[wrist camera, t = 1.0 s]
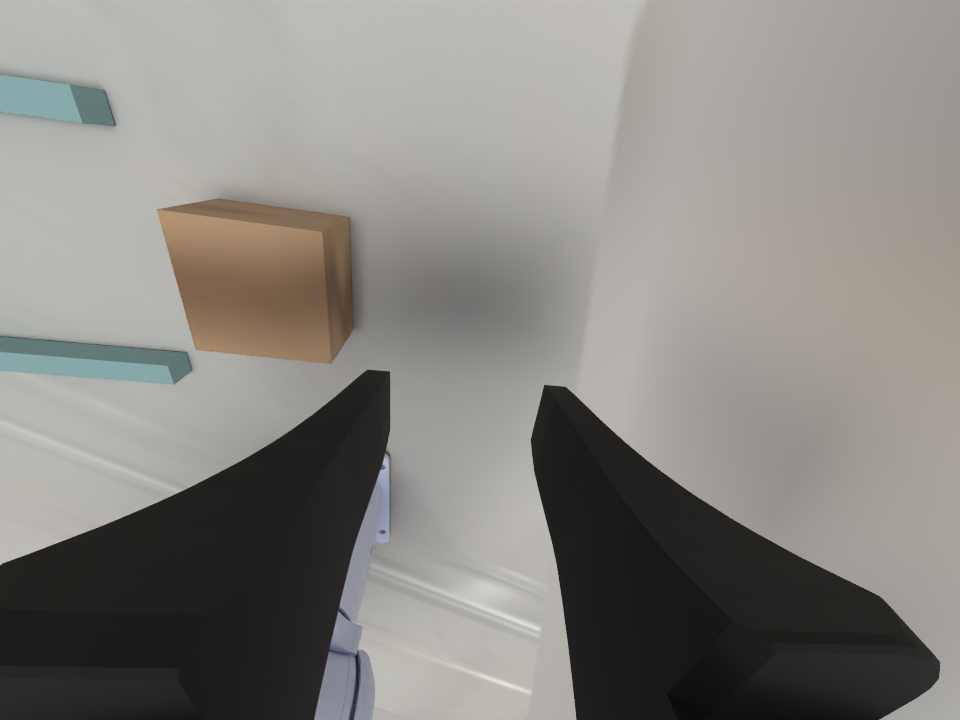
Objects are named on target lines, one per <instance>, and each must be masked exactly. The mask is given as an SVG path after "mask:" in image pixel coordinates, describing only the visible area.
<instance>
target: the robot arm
mask: <svg viewBox="0 0 960 720" xmlns="http://www.w3.org/2000/svg"><path fill="white" fill-rule="evenodd" d="M389 432H390V372H388V371H376V370H367V371H365V372H364V373H363V374H362V375H360V376H359V377H358V378H357V379H356V380H354V381H353V382H352V383H351V384H350V385H349V386H347V387H346V388H345V389H344V390H343V391H342V392H340V393H339V394H338V395H337V396H336V397H334V398H333V399H332V400H331V401H329V402H328V403H327V404H326V405H324V406H323V407H322V408H321V409H319V410H318V411H317V412H316V413H314V414H313V415H312V416H310V417H309V418H307V419H306V420H305V421H303V422H302V423H301V424H299V425H298V426H296V427H295V428H294V429H292V430H291V431H289V432H288V433H286V434H285V435H283V436H282V437H280V438H279V439H277V440H276V441H274V442H273V443H271V444H269V445H268V446H266V447H264V448H263V449H261V450H259V451H258V452H256V453H254V454H253V455H251V456H249V457H247V458H246V459H244V460H242V461H240V462H239V463H237V464H235V465H233V466H231V467H229V468H227V469H225V470H223V471H221V472H219V473H217V474H215V475H213V476H212V477H210V478H208V479H206V480H204V481H202V482H200V483H198V484H196V485H194V486H192V487H190V488H188V489H186V490H184V491H182V492H179V493H177V494H175V495H173V496H171V497H169V498H166V499H164V500H162V501H160V502H158V503H155V504H153V505H151V506H148V507H146V508H144V509H142V510H139V511H137V512H135V513H132V514H130V515H128V516H125V517H123V518H121V519H118V520H116V521H113V522H111V523H108V524H106V525H104V526H101V527H98V528H96V529H93V530H91V531H88V532H85V533H83V534H80V535H78V536H75V537H72V538H70V539H67V540H64V541H62V542H59V543H57V544H54V545H51V546H49V547H46V548H44V549H41V550H38V551H36V552H33V553H31V554H28V555H25V556H22V557H20V558H17V559H14V560H11V561H9V562H6V563H3V564H2V565H0V720H372V715H373V707H374V697H375V680H374V674H373V671H372V668H371V662H370V658H369V656H368V654H367V653H366V652H365V651H363V650H358V646H359V642H360V637H361V633H362V626H360V625H356V624H355V623H356V621H357V618H358V614H359V610H360V606H361V602H362V597H363V593H364V589H365V585H366V580H367V576H368V572H369V568H370V563H371V559H372V555H373V551H374V547H375V543H387V542H388V541H389V537H390V459H389V456H388V455H387V454H385V451H386V447H387V442H388V437H389ZM531 447H532V456H533V464H534V472H535V476H536V480H537V485H538V489H539V493H540V497H541V501H542V505H543V509H544V513H545V516H546V520H547V524H548V528H549V532H550V536H551V540H552V544H553V548H554V553H555V558H556V563H557V568H558V575H559V581H560V588H561V595H562V601H563V609H564V617H565V624H566V631H567V639H568V646H569V655H570V664H571V673H572V681H573V690H574V699H575V708H576V719H577V720H879V719H881V718H883V717H884V716H886V715H888V714H890V713H891V712H893V711H895V710H896V709H898V708H900V707H902V706H903V705H905V704H907V703H909V702H910V701H912V700H914V699H916V698H917V697H919V696H920V695H922V694H923V693H924V692H926V691H927V690H929V689H930V688H931V687H932V686H933V685H934V684H935V682H936V681H937V680H938V679H939V672H940V661H939V660H938V659H937V658H936V657H935V655H934V654H933V653H932V652H931V651H930V650H929V649H928V648H927V647H926V646H925V644H924V643H923V642H922V641H921V640H920V639H919V638H918V637H917V636H916V635H915V633H914V632H913V631H912V630H911V629H910V628H909V627H908V626H907V625H906V624H905V622H904V621H903V620H902V619H901V618H900V617H899V616H898V615H897V614H896V613H895V612H894V610H893V609H892V608H891V607H890V606H889V605H888V604H887V603H886V602H885V601H884V600H883V599H882V598H881V597H879V596H878V595H876V594H874V593H872V592H870V591H868V590H866V589H864V588H862V587H860V586H858V585H856V584H854V583H852V582H849V581H847V580H845V579H843V578H841V577H839V576H837V575H835V574H833V573H831V572H829V571H827V570H825V569H823V568H821V567H819V566H817V565H815V564H813V563H811V562H809V561H807V560H805V559H802V558H801V557H799V556H797V555H795V554H793V553H791V552H789V551H788V550H786V549H784V548H782V547H780V546H778V545H777V544H775V543H773V542H771V541H769V540H768V539H766V538H764V537H762V536H760V535H758V534H757V533H755V532H753V531H752V530H750V529H748V528H746V527H745V526H743V525H741V524H740V523H738V522H736V521H734V520H733V519H731V518H729V517H728V516H726V515H724V514H723V513H722V512H720V511H718V510H717V509H715V508H713V507H712V506H710V505H709V504H707V503H706V502H704V501H703V500H701V499H699V498H698V497H696V496H695V495H693V494H692V493H691V492H689V491H687V490H686V489H685V488H683V487H682V486H680V485H679V484H678V483H676V482H675V481H674V480H672V479H671V478H669V477H668V476H667V475H665V474H664V473H663V472H661V471H660V470H658V469H657V468H656V467H655V466H653V465H652V464H651V463H649V462H648V461H647V460H646V459H644V458H643V457H642V456H641V455H640V454H638V453H637V452H636V451H635V450H634V449H632V448H631V447H630V446H629V445H628V444H626V443H625V442H624V441H623V440H622V439H621V438H620V437H618V436H617V435H616V434H615V433H614V432H613V431H612V430H611V429H610V428H609V427H608V426H606V425H605V424H604V423H603V422H602V421H601V420H600V419H599V418H598V417H597V416H596V415H595V414H594V413H593V412H592V411H591V410H590V409H589V408H588V407H587V406H585V404H583V403H582V402H581V401H580V400H579V399H578V398H577V397H576V396H575V395H574V394H573V393H572V392H571V391H570V390H569V389H567V388H566V387H561V386H550V385H544V389H543V393H542V397H541V401H540V405H539V409H538V413H537V417H536V421H535V425H534V429H533V433H532V437H531ZM382 465H384V466H382Z"/></svg>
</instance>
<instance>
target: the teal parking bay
mask: <svg viewBox="0 0 960 720" xmlns="http://www.w3.org/2000/svg"><path fill="white" fill-rule="evenodd" d="M0 112H6V113H13V114H20V115H28V116H35V117H43V118H50V119H57V120H65V121H72V122H80V123H90V124H102V125H114V126H115V123H114V120H113V117H112V114H111V110H110V107H109V104H108V101H107V98H106V95H105V91H103V90H97V89H91V88H85V87H80V86H74V85H68V84H61V83H54V82H47V81H40V80H33V79H26V78H19V77H12V76H5V75H0ZM0 371H9V372H22V373H35V374H47V375H60V376H73V377H85V378H98V379H110V380H123V381H136V382H148V383H161V384H175V383H177V382H178V381H179V380H181V379H182V378H183V377H184V376H186V375H187V374H188V373H189V372H191V371H192V369H191V365H190V362H189V359H188V356H187V353H185V352H174V351H162V350H151V349H139V348H128V347H116V346H104V345H93V344H81V343H70V342H58V341H47V340H35V339H24V338H12V337H1V336H0Z"/></svg>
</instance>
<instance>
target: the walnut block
mask: <svg viewBox="0 0 960 720" xmlns="http://www.w3.org/2000/svg"><path fill="white" fill-rule="evenodd" d="M157 211H158V215H159V219H160V222H161V226H162V230H163V233H164V237H165V240H166V244H167V248H168V251H169V255H170V258H171V262H172V266H173V269H174V273H175V277H176V280H177V284H178V287H179V291H180V295H181V298H182V302H183V305H184V309H185V313H186V316H187V320H188V324H189V327H190V331H191V334H192V338H193V342H194V345H195V349H196V350H202V351H212V352H221V353H231V354H241V355H251V356H261V357H271V358H281V359H290V360H300V361H310V362H320V363H330V364H331V363H332V362H333V360H334V359H335V357H336V356H337V354H338V353H339V351H340V350H341V348H342V347H343V345H344V343H345V342H346V340H347V339H348V337H349V336H350V334H351V333H352V331H353V303H352V274H351V245H350V217H344V216H337V215H330V214H323V213H316V212H309V211H302V210H294V209H287V208H280V207H273V206H266V205H259V204H252V203H244V202H237V201H230V200H223V199H214V200H208V201H202V202H197V203H191V204H186V205H180V206H174V207H169V208H163V209H157Z"/></svg>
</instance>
